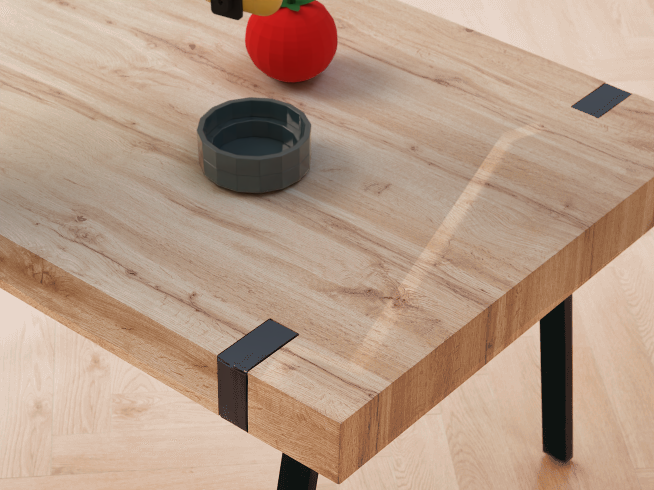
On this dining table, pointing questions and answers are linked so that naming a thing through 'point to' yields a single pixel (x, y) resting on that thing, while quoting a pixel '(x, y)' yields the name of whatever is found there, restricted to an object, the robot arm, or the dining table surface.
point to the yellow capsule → (261, 6)
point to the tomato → (292, 40)
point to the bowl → (254, 144)
